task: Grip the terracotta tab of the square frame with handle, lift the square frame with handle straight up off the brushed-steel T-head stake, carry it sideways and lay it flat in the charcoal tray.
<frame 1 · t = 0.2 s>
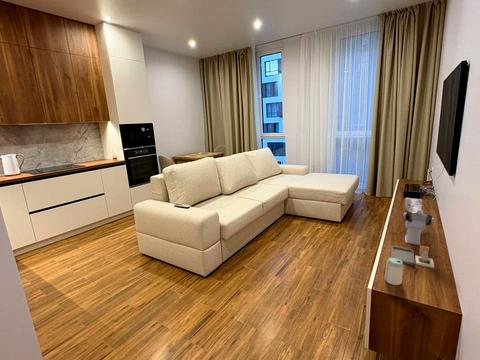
hand: (419, 222, 141), 21 cm above the table, tool horizontal, fingers open, 7 cm apart
tray: (402, 256, 147), on the table
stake: (424, 262, 140), on the table
can: (392, 281, 126), on the table
square frame with handle: (424, 262, 140), on the table
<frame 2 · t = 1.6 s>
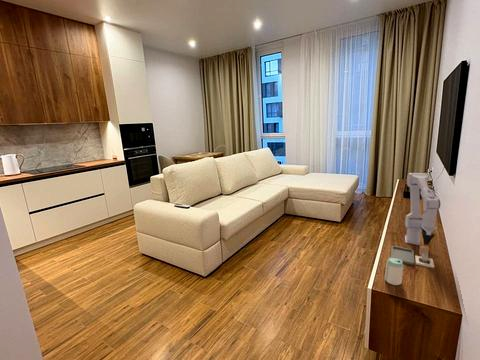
hand: (425, 241, 144), 9 cm above the table, tool pointing down, fingers open, 7 cm apart
nothing on the table moved.
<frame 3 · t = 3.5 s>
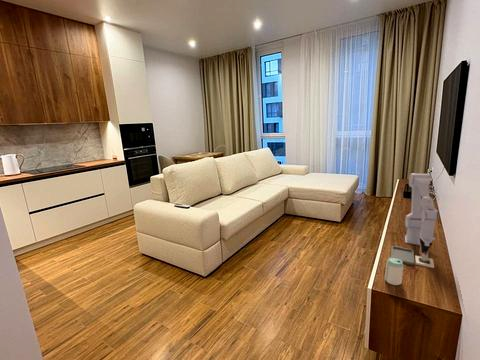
hand: (423, 251, 145), 3 cm above the table, tool pointing down, fingers closed on square frame with handle
square frame with handle: (424, 262, 140), on the table, touching gripper
everything else where it was.
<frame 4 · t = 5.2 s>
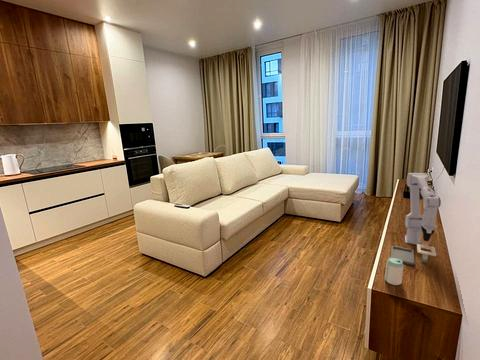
hand: (425, 239, 143), 10 cm above the table, tool pointing down, fingers closed on square frame with handle
square frame with handle: (426, 250, 139), point 7 cm above the table, touching gripper
everything else where it was.
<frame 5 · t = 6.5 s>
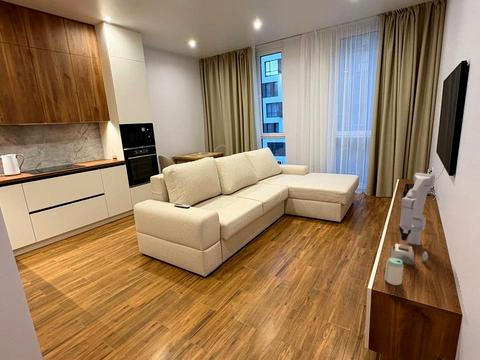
hand: (403, 239, 149), 8 cm above the table, tool pointing down, fingers closed on square frame with handle
square frame with handle: (403, 250, 144), point 5 cm above the table, touching gripper
everything else where it was.
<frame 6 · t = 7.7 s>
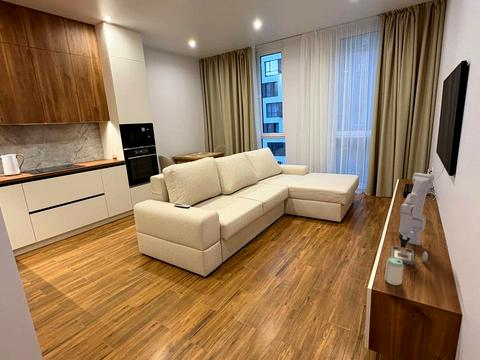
hand: (402, 245, 150), 4 cm above the table, tool pointing down, fingers open, 5 cm apart
square frame with handle: (402, 256, 146), resting on tray
everything else where it was.
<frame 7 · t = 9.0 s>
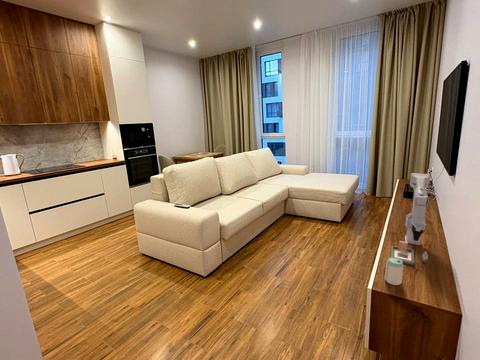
hand: (415, 237, 148), 9 cm above the table, tool pointing down, fingers open, 7 cm apart
nothing on the table moved.
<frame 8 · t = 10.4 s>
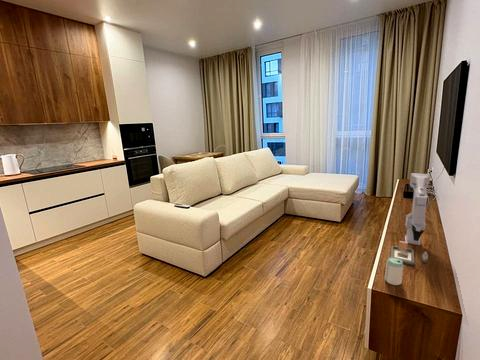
hand: (415, 237, 148), 9 cm above the table, tool pointing down, fingers open, 7 cm apart
nothing on the table moved.
at the end: square frame with handle 0.4 cm from the target spot on the tray, point 0.4 cm above the tray's base; square frame with handle tilted 0°; the gripper is holding nothing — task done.
